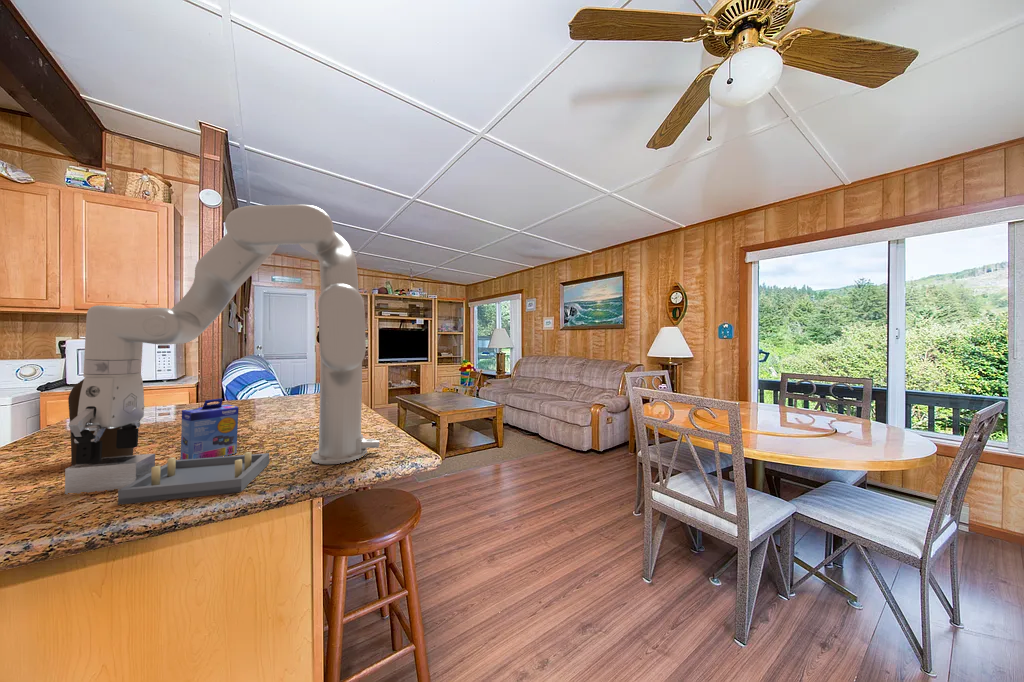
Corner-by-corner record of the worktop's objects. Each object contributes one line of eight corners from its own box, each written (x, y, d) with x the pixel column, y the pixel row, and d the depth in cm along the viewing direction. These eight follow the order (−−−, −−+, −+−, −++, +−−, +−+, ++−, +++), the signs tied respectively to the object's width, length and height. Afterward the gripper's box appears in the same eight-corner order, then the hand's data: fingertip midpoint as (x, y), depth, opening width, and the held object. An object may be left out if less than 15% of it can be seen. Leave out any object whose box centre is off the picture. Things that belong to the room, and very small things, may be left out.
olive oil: (147, 455, 86) (149, 354, 86) (86, 471, 75) (88, 356, 75) (118, 451, 88) (120, 353, 88) (54, 465, 78) (57, 354, 78)
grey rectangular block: (154, 477, 73) (155, 453, 73) (135, 488, 68) (135, 462, 68) (90, 483, 70) (91, 457, 70) (64, 495, 64) (65, 468, 64)
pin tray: (269, 463, 82) (269, 444, 82) (241, 491, 67) (241, 468, 67) (172, 471, 76) (172, 451, 76) (117, 504, 61) (118, 479, 61)
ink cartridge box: (188, 465, 80) (190, 402, 80) (178, 461, 82) (179, 400, 82) (239, 453, 88) (240, 396, 88) (228, 450, 91) (229, 395, 91)
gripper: (104, 372, 62) (99, 468, 62) (164, 365, 78) (160, 442, 78) (46, 372, 59) (40, 472, 59) (121, 365, 76) (116, 443, 75)
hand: (109, 455), depth 69 cm, fingers open, 9 cm apart
